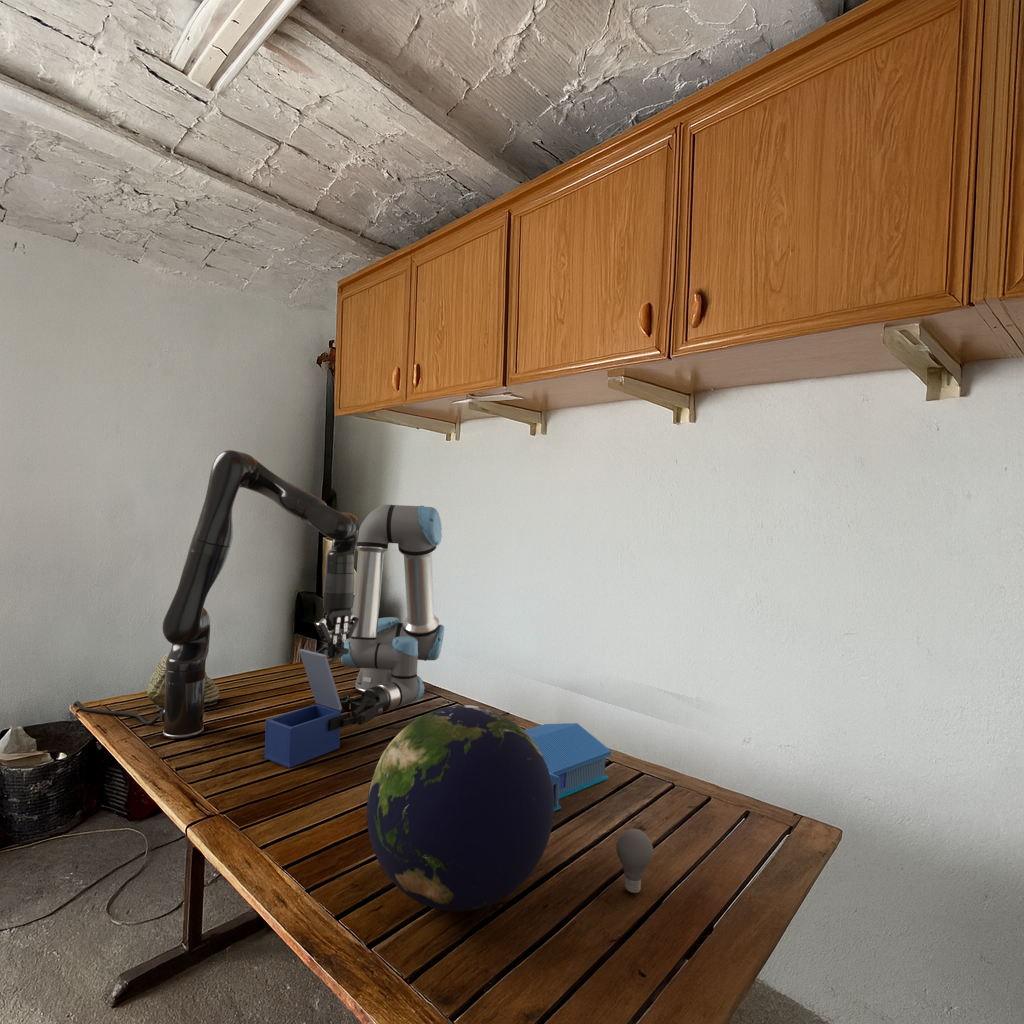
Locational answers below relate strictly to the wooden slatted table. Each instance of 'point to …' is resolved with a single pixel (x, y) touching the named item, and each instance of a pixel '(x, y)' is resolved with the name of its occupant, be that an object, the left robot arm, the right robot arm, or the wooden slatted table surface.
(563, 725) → the model building
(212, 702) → the fossil
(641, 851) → the light bulb
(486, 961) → the wooden slatted table surface
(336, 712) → the chest
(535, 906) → the wooden slatted table surface
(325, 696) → the grey lid
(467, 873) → the globe
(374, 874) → the wooden slatted table surface
